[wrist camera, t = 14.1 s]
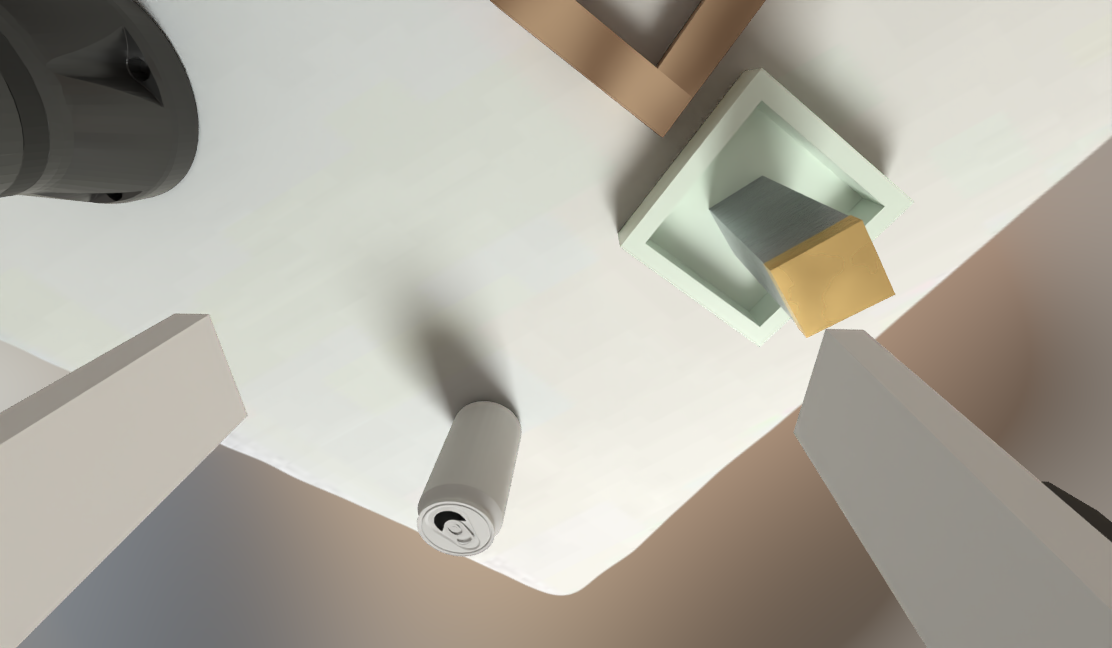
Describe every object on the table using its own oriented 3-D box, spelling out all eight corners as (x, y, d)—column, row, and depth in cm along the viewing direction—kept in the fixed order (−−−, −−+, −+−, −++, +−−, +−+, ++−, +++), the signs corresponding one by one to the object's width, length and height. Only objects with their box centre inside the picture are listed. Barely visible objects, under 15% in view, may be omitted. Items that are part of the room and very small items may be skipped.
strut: (733, 255, 34) (806, 337, 22) (707, 208, 33) (770, 270, 21) (787, 223, 33) (895, 294, 21) (762, 174, 31) (862, 220, 20)
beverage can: (496, 385, 42) (462, 485, 31) (536, 434, 44) (517, 544, 33) (442, 413, 43) (392, 517, 33) (482, 459, 46) (448, 571, 35)
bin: (617, 233, 35) (620, 247, 31) (744, 70, 29) (761, 67, 26) (745, 326, 37) (759, 347, 34) (883, 191, 32) (914, 201, 29)
